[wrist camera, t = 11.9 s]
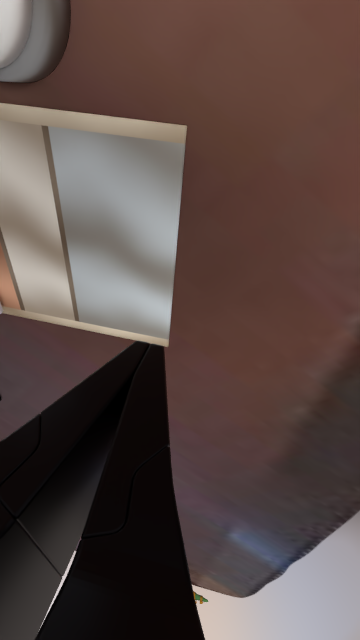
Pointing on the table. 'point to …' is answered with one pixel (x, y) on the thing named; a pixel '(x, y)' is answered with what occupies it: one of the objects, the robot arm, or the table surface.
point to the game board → (85, 205)
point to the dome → (13, 28)
